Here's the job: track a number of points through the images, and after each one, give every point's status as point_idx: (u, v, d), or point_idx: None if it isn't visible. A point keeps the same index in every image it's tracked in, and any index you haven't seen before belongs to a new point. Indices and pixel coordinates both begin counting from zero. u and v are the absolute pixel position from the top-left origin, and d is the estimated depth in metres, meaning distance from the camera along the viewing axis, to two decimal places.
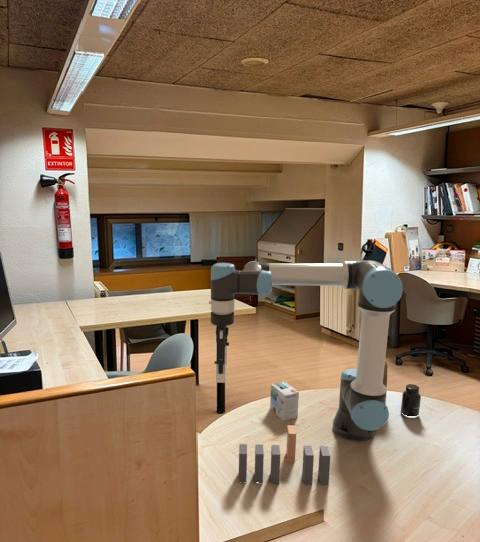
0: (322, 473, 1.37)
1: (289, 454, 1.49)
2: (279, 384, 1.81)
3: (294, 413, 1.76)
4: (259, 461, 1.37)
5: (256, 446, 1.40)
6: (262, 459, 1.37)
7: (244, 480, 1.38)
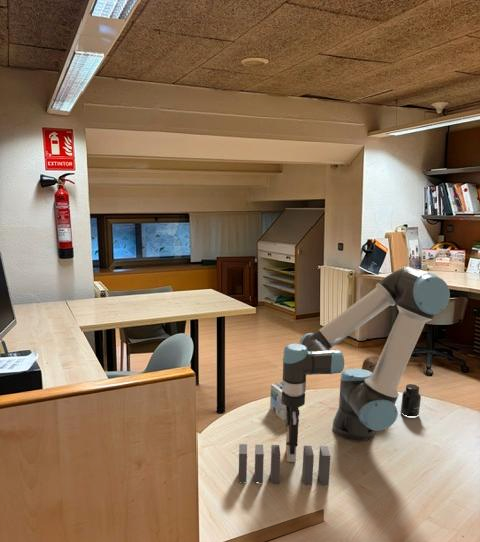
0: (322, 473, 1.37)
1: None
2: (279, 384, 1.81)
3: None
4: (259, 461, 1.37)
5: (256, 446, 1.40)
6: (262, 459, 1.37)
7: (244, 480, 1.38)
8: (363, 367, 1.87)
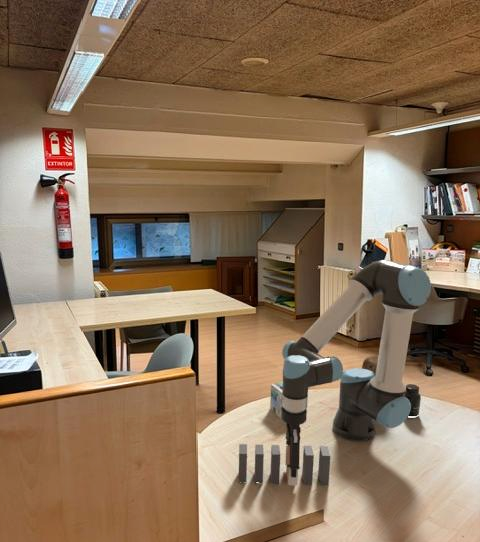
0: (322, 473, 1.37)
1: None
2: (279, 384, 1.81)
3: None
4: (259, 461, 1.37)
5: (256, 446, 1.40)
6: (262, 459, 1.37)
7: (244, 480, 1.38)
8: (363, 367, 1.87)
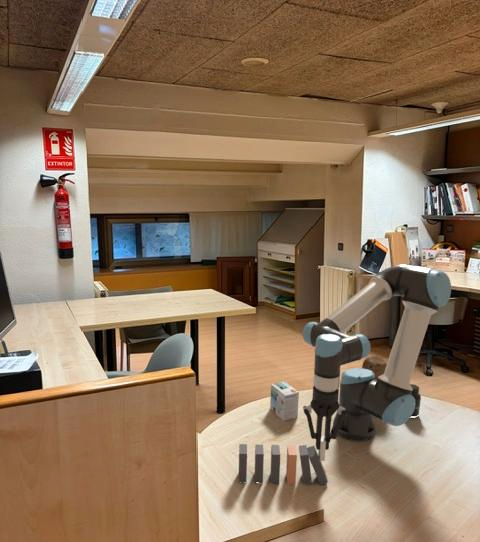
0: (317, 473, 1.37)
1: (289, 477, 1.38)
2: (279, 384, 1.81)
3: (294, 413, 1.76)
4: (259, 461, 1.37)
5: (256, 446, 1.40)
6: (262, 459, 1.37)
7: (244, 480, 1.38)
8: (363, 367, 1.87)
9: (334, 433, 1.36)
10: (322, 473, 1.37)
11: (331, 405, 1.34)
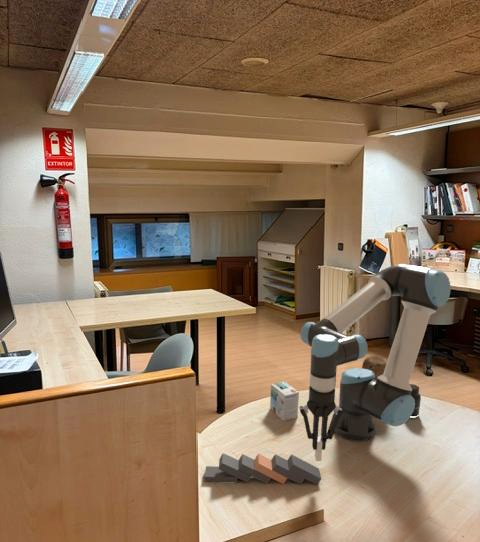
0: (306, 478, 1.38)
1: (277, 479, 1.38)
2: (279, 384, 1.81)
3: (294, 413, 1.76)
4: (227, 469, 1.37)
5: (219, 460, 1.41)
6: (226, 466, 1.37)
7: (234, 479, 1.38)
8: (363, 367, 1.87)
9: (330, 433, 1.36)
10: (310, 475, 1.38)
11: (327, 405, 1.34)
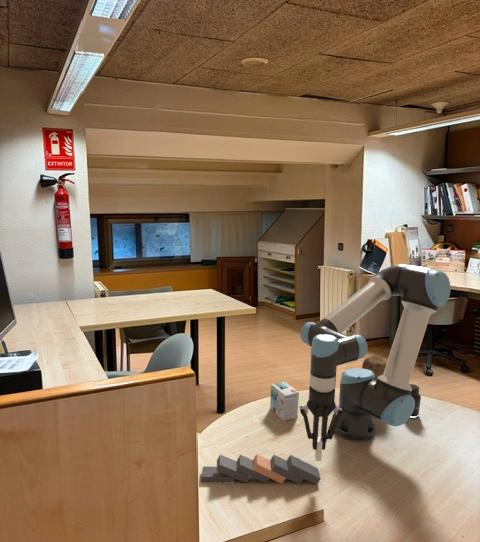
0: (305, 478, 1.38)
1: (276, 479, 1.38)
2: (279, 384, 1.81)
3: (294, 413, 1.76)
4: (225, 470, 1.37)
5: (217, 462, 1.41)
6: (224, 467, 1.37)
7: (231, 479, 1.38)
8: (363, 367, 1.87)
9: (330, 433, 1.36)
10: (309, 475, 1.38)
11: (327, 405, 1.34)
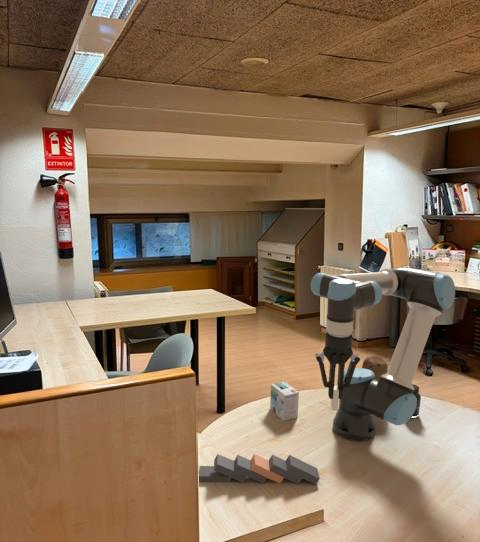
0: (304, 478, 1.38)
1: (273, 479, 1.38)
2: (279, 384, 1.81)
3: (294, 413, 1.76)
4: (222, 470, 1.37)
5: (214, 461, 1.41)
6: (222, 467, 1.37)
7: (227, 478, 1.38)
8: (363, 367, 1.87)
9: (347, 381, 1.33)
10: (308, 475, 1.38)
11: (344, 352, 1.31)
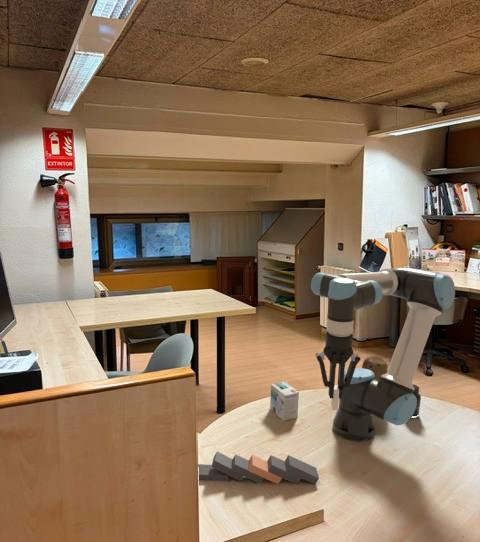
0: (304, 478, 1.38)
1: (271, 479, 1.38)
2: (279, 384, 1.81)
3: (294, 413, 1.76)
4: (219, 467, 1.39)
5: (213, 458, 1.43)
6: (219, 463, 1.38)
7: (225, 477, 1.39)
8: (363, 367, 1.87)
9: (347, 380, 1.33)
10: (308, 474, 1.38)
11: (345, 351, 1.31)
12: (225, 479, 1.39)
